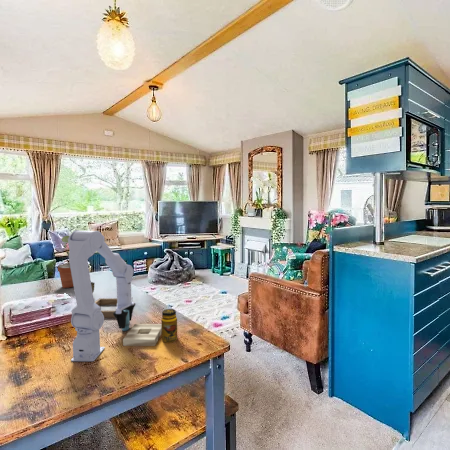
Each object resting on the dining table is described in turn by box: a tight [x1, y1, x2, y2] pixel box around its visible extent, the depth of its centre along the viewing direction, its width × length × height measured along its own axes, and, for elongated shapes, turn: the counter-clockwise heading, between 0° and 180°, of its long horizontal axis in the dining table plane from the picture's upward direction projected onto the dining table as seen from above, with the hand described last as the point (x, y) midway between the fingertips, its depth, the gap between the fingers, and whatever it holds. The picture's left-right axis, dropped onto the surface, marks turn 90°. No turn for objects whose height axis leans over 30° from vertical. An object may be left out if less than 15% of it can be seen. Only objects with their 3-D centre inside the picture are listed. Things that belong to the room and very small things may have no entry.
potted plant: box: [57, 235, 74, 289], centre depth 195 cm, size 16×15×35 cm
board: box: [122, 323, 162, 347], centre depth 123 cm, size 14×12×2 cm
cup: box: [91, 281, 96, 293], centre depth 172 cm, size 8×7×8 cm
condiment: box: [160, 308, 178, 344], centre depth 121 cm, size 7×8×12 cm
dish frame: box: [94, 297, 117, 319], centre depth 152 cm, size 18×17×3 cm
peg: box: [121, 310, 131, 332], centre depth 130 cm, size 4×4×8 cm
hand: (125, 324), depth 130 cm, fingers open, 7 cm apart
